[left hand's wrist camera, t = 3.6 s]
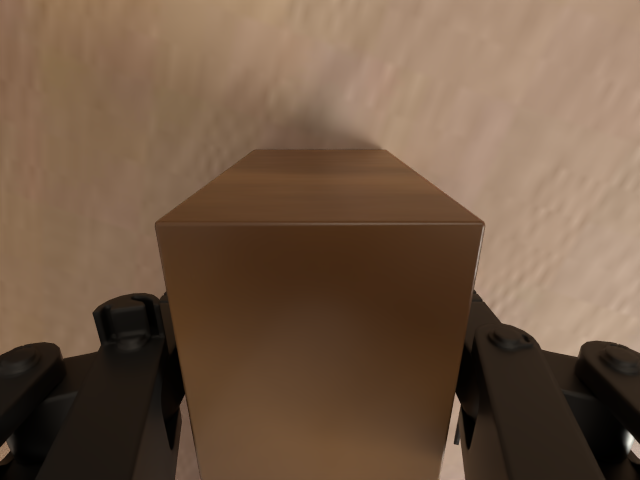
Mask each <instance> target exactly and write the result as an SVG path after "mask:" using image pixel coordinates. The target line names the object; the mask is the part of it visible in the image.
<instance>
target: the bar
mask: <svg viewBox="0 0 640 480" xmlns="http://www.w3.org/2000/svg"><path fill="white" fill-rule="evenodd" d="M155 230H156V235H157V241H158V246H159V252H160V257H161V263H162V268H163V274H164V279H165V285H166V291H167V296H168V302H169V307H170V313H171V318H172V324H173V329H174V335H175V340H176V346H177V351H178V357H179V362H180V368H181V373H182V379H183V384H184V390H185V395H186V401H187V406H188V412H189V417H190V423H191V428H192V434H193V439H194V445H195V451H196V456H197V462H198V467H199V473H200V478H201V480H440V474H441V468H442V463H443V457H444V452H445V446H446V441H447V435H448V430H449V424H450V418H451V413H452V407H453V402H454V396H455V391H456V385H457V380H458V374H459V369H460V363H461V357H462V352H463V346H464V341H465V335H466V330H467V324H468V319H469V313H470V307H471V302H472V296H473V291H474V285H475V280H476V274H477V269H478V263H479V258H480V252H481V246H482V241H483V235H484V230H485V223H484V221H482V220H481V219H479V218H478V217H477V216H475V215H474V214H473V213H471V212H470V211H469V210H467V209H466V208H464V207H463V206H462V205H460V204H459V203H458V202H456V201H455V200H454V199H452V198H451V197H449V196H448V195H447V194H445V193H444V192H443V191H441V190H440V189H439V188H437V187H436V186H435V185H433V184H432V183H430V182H429V181H428V180H426V179H425V178H424V177H422V176H421V175H420V174H418V173H417V172H415V171H414V170H413V169H411V168H410V167H409V166H407V165H406V164H405V163H403V162H402V161H400V160H399V159H398V158H396V157H395V156H394V155H392V154H391V153H390V152H388V151H387V150H253V151H252V152H251V153H249V154H248V155H247V156H245V157H244V158H243V159H241V160H240V161H238V162H237V163H236V164H234V165H233V166H232V167H230V168H229V169H228V170H226V171H225V172H223V173H222V174H221V175H219V176H218V177H217V178H215V179H214V180H213V181H211V182H210V183H208V184H207V185H206V186H204V187H203V188H202V189H200V190H199V191H198V192H196V193H195V194H193V195H192V196H191V197H189V198H188V199H187V200H185V201H184V202H183V203H181V204H180V205H178V206H177V207H176V208H174V209H173V210H172V211H170V212H169V213H168V214H166V215H165V216H163V217H162V218H161V219H159V220H158V221H157V222H156V223H155Z"/></svg>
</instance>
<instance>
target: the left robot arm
mask: <svg viewBox="0 0 640 480" xmlns="http://www.w3.org/2000/svg"><path fill="white" fill-rule="evenodd" d="M93 317H94V320H95V324H96V328H97V331H98V335H99V338H100V342H101V346H100V348H99V350H98V352H94V353H90V354H85V355H80V356H74V357H69V358H64V359H63V357H62V354H61V351H60V348H59V347H58V346H57V345H55V344H54V343H46V342H42V343H34V344H27V345H24V346H20V347H17V348H14V349H13V350H11V351H9V352H6V353H4V354H2V355H0V447H1V446H2V445H3V444H4V442H5V441H6V442H7V444H8V446H9V449H10V452H9V453H8V454H7V455H6V457H5V458H4V459H3V460H1V461H0V480H175V473H176V465H177V457H178V449H179V441H180V432H181V424H182V419H181V412H180V407H179V406H180V403H181V401H182V399H183V397H184V395H185V390H184V384H183V379H182V373H181V368H180V362H179V357H178V351H177V346H176V340H175V335H174V329H173V324H172V318H171V313H170V307H169V302H168V296H167V291H166V292H165V293H164V295H163V296H162V297H161V298H160V299H158V298H157V297H156V296H154V295H151V294H146V293H133V294H128V295H123V296H119V297H117V298H114V299H111V300H109V301H107V302H105V303H103V304H102V305H100V306H99V307H98V308H97V309H96V310H95V311H94V312H93ZM455 392H456V395H457V397H458V399H459V401H460V403H461V407H460V412H459V417H458V423H457V428H456V433H455V439H454V444H456V445H459V440H461V448H462V456H463V464H464V472H465V480H640V459H639V458H638V457H637V456H636V455H635V454H634V453H633V452H632V451H631V447H632V445H633V443H634V441H635V439H636V440H637V442H638V443H639V444H640V353H638V352H636V351H634V350H632V349H629V348H628V347H626V346H623V345H620V344H619V345H618V344H617V343H612V342H604V341H590V342H586V343H585V344H583V345H582V346H581V349H580V352H579V355H578V357H574V356H569V355H564V354H559V353H554V352H549V351H545V350H541V348H540V346H539V344H538V343H537V341H536V340H535V339H534V338H533V337H532V336H531V335H529V334H528V333H526V332H525V331H523V330H521V329H518V328H516V327H514V326H511V325H506V324H502V323H501V322H500V321H499V319H498V318H497V317H496V316H495V315H494V313H493V312H492V311H491V310H490V308H489V307H488V306H487V305H486V304H485V302H483V301H482V299H481V297H480V296H479V295H478V294H476V291H475V290H474V291H473V296H472V302H471V307H470V313H469V319H468V324H467V330H466V335H465V341H464V346H463V352H462V357H461V363H460V369H459V374H458V380H457V385H456V391H455Z"/></svg>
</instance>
